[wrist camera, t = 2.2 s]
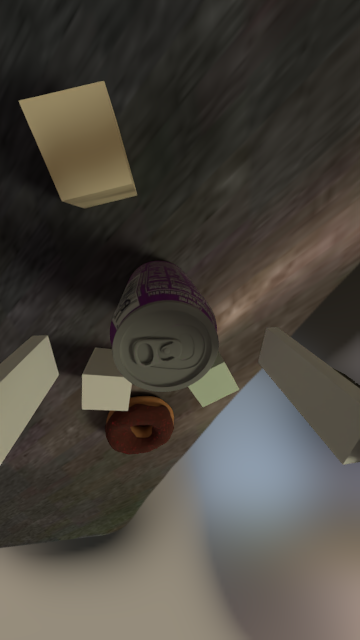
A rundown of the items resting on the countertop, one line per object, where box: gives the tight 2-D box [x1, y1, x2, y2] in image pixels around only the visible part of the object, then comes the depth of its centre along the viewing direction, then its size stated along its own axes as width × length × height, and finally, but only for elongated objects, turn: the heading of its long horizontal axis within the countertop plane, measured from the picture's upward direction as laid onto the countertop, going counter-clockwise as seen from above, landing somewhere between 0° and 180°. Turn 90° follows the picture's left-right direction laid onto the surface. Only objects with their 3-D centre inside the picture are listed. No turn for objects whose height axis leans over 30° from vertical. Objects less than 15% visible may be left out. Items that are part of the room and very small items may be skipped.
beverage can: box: [110, 261, 219, 392], centre depth 16 cm, size 7×7×12 cm
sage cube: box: [188, 351, 239, 407], centre depth 25 cm, size 5×5×5 cm
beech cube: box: [19, 81, 137, 208], centre depth 14 cm, size 5×5×5 cm
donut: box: [105, 396, 174, 454], centre depth 28 cm, size 10×10×4 cm
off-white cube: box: [82, 347, 132, 411], centre depth 23 cm, size 5×5×5 cm
